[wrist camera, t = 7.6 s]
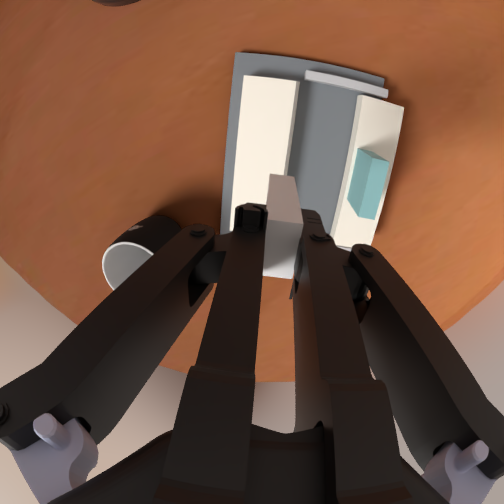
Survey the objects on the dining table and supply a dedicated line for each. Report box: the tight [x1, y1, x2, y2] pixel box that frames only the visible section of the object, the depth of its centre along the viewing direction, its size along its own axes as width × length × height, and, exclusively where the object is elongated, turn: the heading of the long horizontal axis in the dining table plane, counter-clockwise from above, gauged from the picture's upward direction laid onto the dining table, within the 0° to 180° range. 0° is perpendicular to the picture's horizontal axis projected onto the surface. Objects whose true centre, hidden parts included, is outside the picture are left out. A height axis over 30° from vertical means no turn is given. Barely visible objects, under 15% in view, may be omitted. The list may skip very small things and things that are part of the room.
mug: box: [102, 216, 181, 290], centre depth 35 cm, size 12×9×10 cm
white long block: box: [330, 95, 404, 247], centre depth 28 cm, size 18×5×7 cm, turn 174°
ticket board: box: [220, 52, 388, 251], centre depth 31 cm, size 24×17×4 cm
